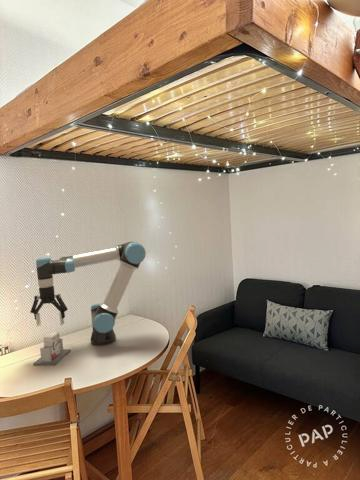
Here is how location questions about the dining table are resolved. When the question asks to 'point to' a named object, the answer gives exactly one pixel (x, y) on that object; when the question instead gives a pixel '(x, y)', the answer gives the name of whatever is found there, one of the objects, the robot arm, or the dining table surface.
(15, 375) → the dining table surface
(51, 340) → the ink box
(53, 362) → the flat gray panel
